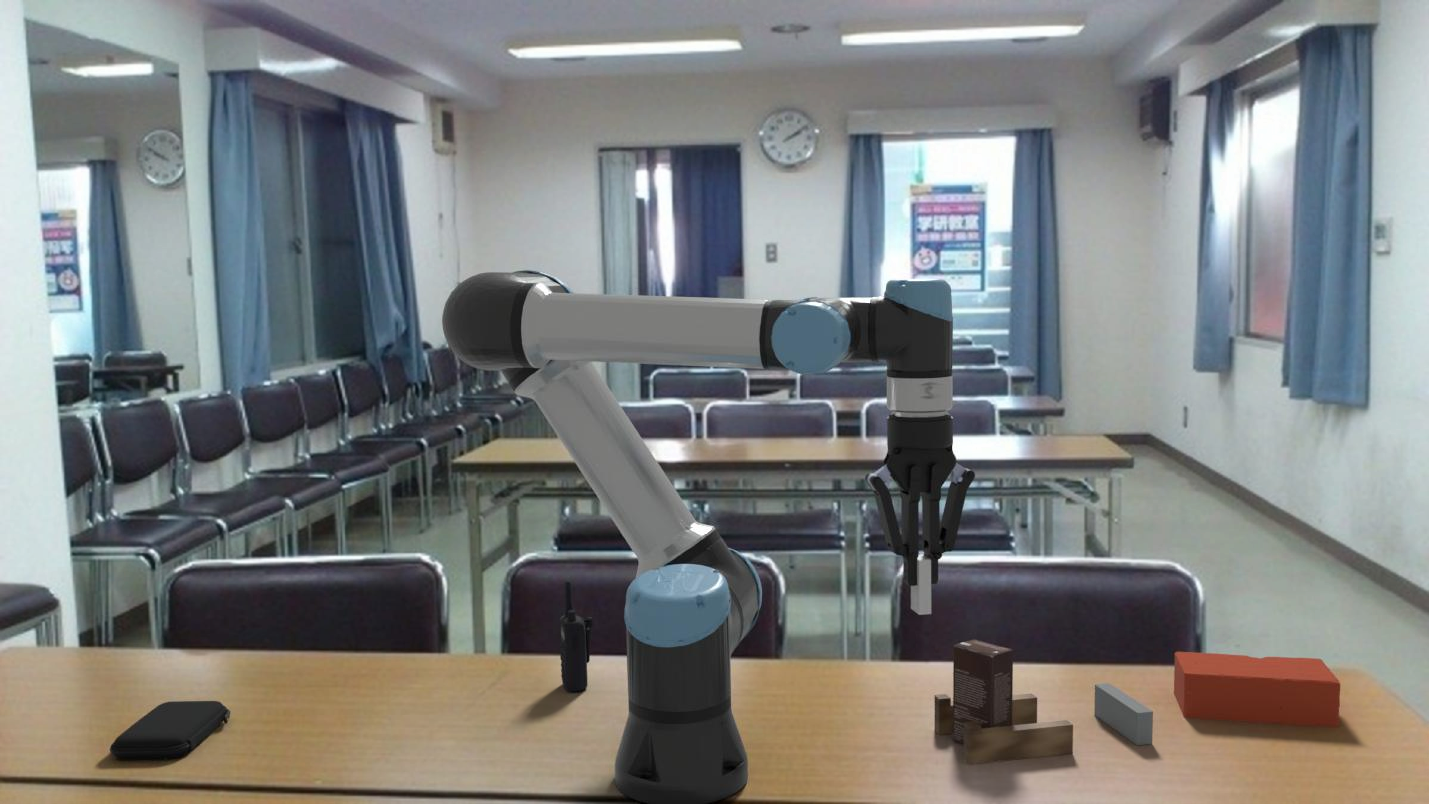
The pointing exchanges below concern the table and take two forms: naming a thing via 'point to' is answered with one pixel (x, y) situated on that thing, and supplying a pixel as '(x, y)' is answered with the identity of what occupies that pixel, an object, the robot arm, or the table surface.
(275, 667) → the table surface
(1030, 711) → the brown piece
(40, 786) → the table surface
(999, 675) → the box
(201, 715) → the carrying case or bag
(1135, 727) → the end stop
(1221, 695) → the brick
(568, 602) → the two-way radio
